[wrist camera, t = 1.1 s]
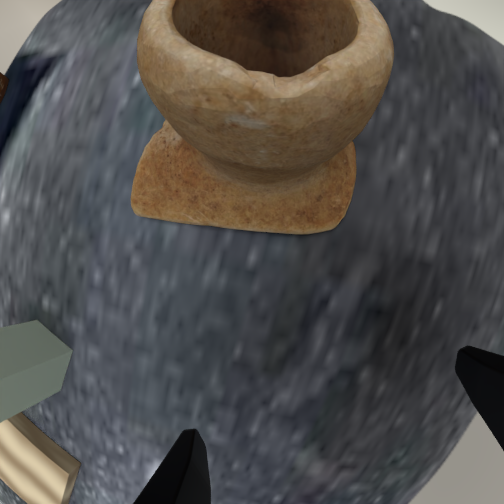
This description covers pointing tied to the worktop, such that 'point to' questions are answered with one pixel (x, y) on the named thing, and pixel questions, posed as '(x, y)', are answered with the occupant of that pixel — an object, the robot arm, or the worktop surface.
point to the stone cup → (258, 110)
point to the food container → (3, 85)
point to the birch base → (35, 463)
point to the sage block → (29, 366)
